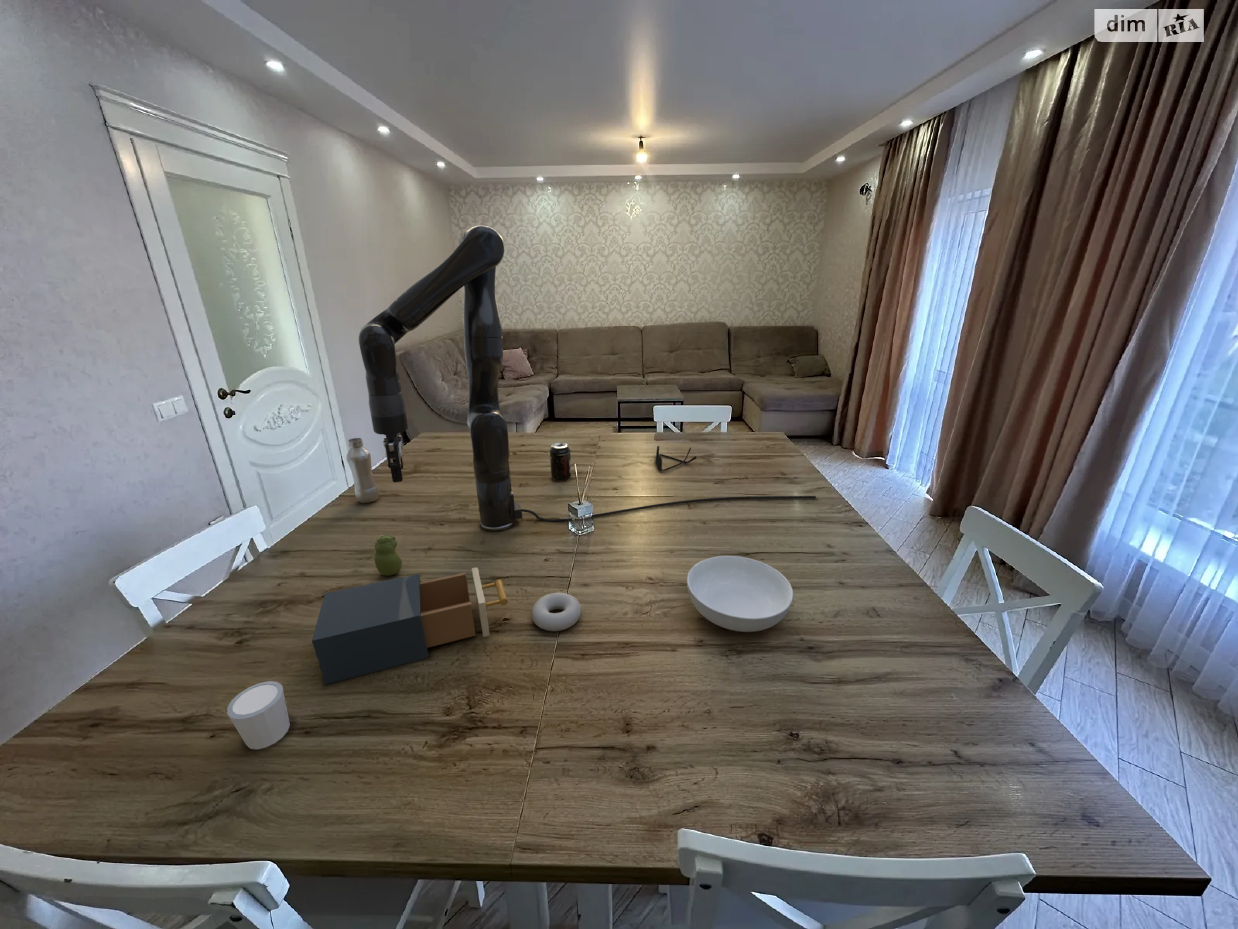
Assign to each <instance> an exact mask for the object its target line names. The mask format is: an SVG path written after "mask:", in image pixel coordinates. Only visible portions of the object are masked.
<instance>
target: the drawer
mask: <svg viewBox="0 0 1238 929" xmlns="http://www.w3.org/2000/svg"><path fill="white" fill-rule="evenodd" d="M471 574H472V582H473V589H474V596H475V602H476V606H477V612H478V618H479V621H480V627H481V633H482V637H483V638H487V637H489V636H490V635H491V634H490V626H489V619H488V613H487V612H488V611H487V608H488V607H492V606H496V605H501V606H505V605H507V604H508V603H509V602H508V601H509V600H508V597H507V593H506V590H505V587H504V582H503V580H502V579H496V580H495V581H494V582H492V583H486V584H482V581H481V577H480V572H479V567H472V568H471ZM493 587H495V589H496V593H497V596H498V599H495V600H490V601H486V599H485V595H484V591H483V590H486V589H490V588H493ZM472 608H473V607H472V602H471V600H470V594H469V586H468V580H467V573H466V572H461V573H457V574H453V575H447V576H442V577H438V578H433V579H429V580H424V581H420V613H421V621H422V626H423V631H424V636H425V641H426V647H427V648H428V649H429V648H432V647H436V646H439V645H440V646H441V645H443V644H447V643H451V642H456V641H459V640H460V641H461V640H463V639H467V638H471V637H475V636H476V629H475V628H476V626H475V620H474V615H473V609H472Z"/></svg>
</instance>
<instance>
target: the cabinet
mask: <svg viewBox="0 0 1238 929" xmlns="http://www.w3.org/2000/svg"><path fill="white" fill-rule="evenodd" d="M420 582H421V578H420V574H419V573H417V574H411V575H407V576H401V577H397V578H393V579H388V580H383V581H377V582H374V583H373V582H372V583H368V584H364V585H359V586H354V587H349V588H343V589H338V590H333V591H329V592H325V593H324V595H323V598H322V602H321V605H320V609H319V613H318V618H317V620H316V624H315V628H314V631H313V635H312V638H311V643H312V646H313V649H314V652H315V655H316V659H317V663H318V666H319V668H320V671H321V675H322V678H323V683H324V685H325V686H327V685H330V684H334V683H338V682H342V681H344V680H345V681H346V680H350V679H355V678H357V677H361V676H364V675H368V674H372V673H376V672H380V671H383V670H387V669H388V670H389V669H391V668H395V667H398V666H402V665H406V664H410V663H413V662H418V661H421V660H425V659H429V648H427V647H426V641H425V636H424V631H423V626H422V621H421V613H420Z"/></svg>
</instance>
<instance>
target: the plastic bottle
mask: <svg viewBox="0 0 1238 929" xmlns="http://www.w3.org/2000/svg"><path fill="white" fill-rule="evenodd" d="M347 443H348V447H349V450H348V451H347V453H346V457H345V459H346V461H347V464H348V466H349V469H350V472H351V475H352V478H353V484H354V485H353V486H354V497H355V499H356V501H358V502H359V503H361V504H368V503H373V502H375V501H377V500H378V498H379V496H380V491H379V488H378V485H377V484H376V481H375V478H374V474H373V468H372V456H371V453H370V451H369V450H368V449H367V448H365V447H364V442H363V439H362V438H361V437H354V438H350V439H348V440H347Z"/></svg>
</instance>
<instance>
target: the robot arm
mask: <svg viewBox="0 0 1238 929" xmlns="http://www.w3.org/2000/svg"><path fill="white" fill-rule="evenodd" d="M504 256H505V242H504V240H503V238H502V236H501V235H500V233H499V232H498V231H497V230H495V229H494V228H492V227H490V226H487V225H480V224H479V225H474V226H471V227H469V228H468V229H466V230H465V231H463V233H462V234H461V236H460V238H459V242H458V246H457V247H456V248H455V250H454V251H453V252H452V253H451V254H450V255H449V257H447V258H446V259H445V260H444V261H443V262H442V263H441V264H439V266H437V267H436V268H434V269H433V270H432V271H430V272H429V273H428V274H426V275H424V276H423V277H422V278H420V279H419V280H417V281H416V282H415V283H414V284H412V285H411V286H410V287H408V288H407V289H406V290H405V291H403V292H402V293H401V294H400V295H399V296H398V297H397V298H395V300H393V301H392V302H391V303H390V305H388V307H386V309H385V310H383V311H381V312H380V313H378V314H377V315H375V316H374V317H373V318H372V319H370V320H368V322H367V323H366V324H364V325H363V326H362V327H361V329H360V331H359V334H358V346H359V351H360V355H361V359H362V364H363V367H364V370H365V383H366V390H367V395H368V406H369V413H370V418H371V424H372V429H373V432H374V433H375V434H377V435H383V436H385V437H383V441H382V442H383V447H384V450H385V457H386V460H387V467H388V469H390V473H391V479H392V482H393V483H401V482H403V479H404V478H403V472H402V470H403V469H404V461H403V449H404V447H403V437H402V435H401V433H404V432H406V431H408V429H409V424H408V418H407V411H406V405H405V400H404V395H403V392H402V385H401V379H400V378H401V377H400V374H399V370H398V367H397V355H396V344H397V343H398V342H399V341H400V340H401V339H402V338H403V337H405V336H406V335H407V334H408V333H409V332H412V331H414V330H416V329H417V328H419V326H421V325H422V324H423V323H424V322H426V320H428V319H429V318H430V317H431V316H432V315H433V314H434V313H436V311H438V310H439V309H440V308H441V307H442V306H443V305H444V304H445V303H446V302H447V301H449V299H450V298H452V297H453V296H454V295H455V294H456V293H457V292H458V291H459V290H461V289H462V288H463V289H464V297H463V298H464V300H463V347H464V348H463V349H464V358H465V359H464V360H465V367H466V374H467V382H468V405H467V406H468V407H467V418H466V424H467V429H468V431H469V433H470V434H469V435H470V440H471V449H472V465H473V473H474V480H475V490H476V497H477V504H478V512H479V523H480V527H481V528H482V529H483V530H485V531H487V532H499V531H504V530H507V529H509V528H511V527H513V526H516V525H517V520H520V519H521V520H522V519H523V513H528V514H531V515H533V516H534V517H535V518H536V519H537V520H539V521H541V522H548V523H549V522H550V523H551V522H552V523H558V522H560V523H561V522H573V521H572V518H573V517H569V518H556V519H549V518H545V517H541V516H539V515H538V513H537V512H536V511H533V510H530V509H525V508H522V506H521V505H520V503H519V501H515V498H514V497H515V496H514V492H513V490H512V479H511V478H512V477H511V469H510V453H511V452H510V442H509V441H510V439H509V429H508V424H507V421H506V419H505V418H504V416H503V415H502V413H501V406H500V399H499V380H500V375H501V371H502V366H503V360H504V337H503V336H504V333H503V324H502V318H501V313H500V309H499V305H498V300H497V295H496V271H497V266H499V265H500V264H501V262H502V260H503V258H504ZM816 498H817V496H816V495H761V496H760V495H759V496H756V495H754V496H752V495H751V496H725V497H723V496H721V497H707V498H697V499H685V500H678V501H670V502H663V503H656V504H655V503H654V504H649V505H644V506H643V505H642V506H637V507H631V508H624V509H619V510H613V511H607V512H601V513H595V514H591V515H592V517H591V518H596V517H604V516H609V515H614V514H615V515H616V514H622V513H627V512H632V511H638V510H639V511H640V510H644V509H651V508H657V507H666V506H673V505H679V504H689V503H698V502H708V501H709V502H710V501H726V500H727V501H728V500H760V499H761V500H762V499H763V500H764V499H766V500H767V499H769V500H771V499H772V500H773V499H816Z"/></svg>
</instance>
